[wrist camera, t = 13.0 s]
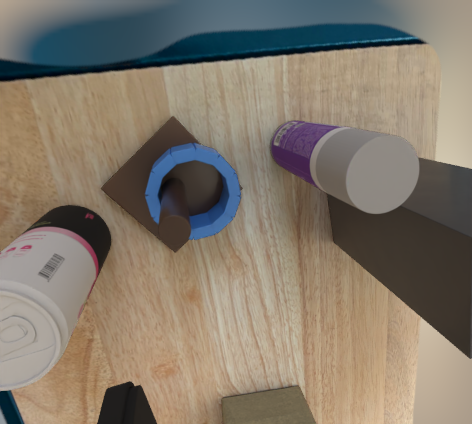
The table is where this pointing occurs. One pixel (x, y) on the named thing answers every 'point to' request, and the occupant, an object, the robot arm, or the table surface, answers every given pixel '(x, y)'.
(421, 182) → the pedestal
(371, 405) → the table surface
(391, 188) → the container
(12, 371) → the beverage can
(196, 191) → the stand
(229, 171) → the ring
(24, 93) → the table surface
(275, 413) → the tissue box
